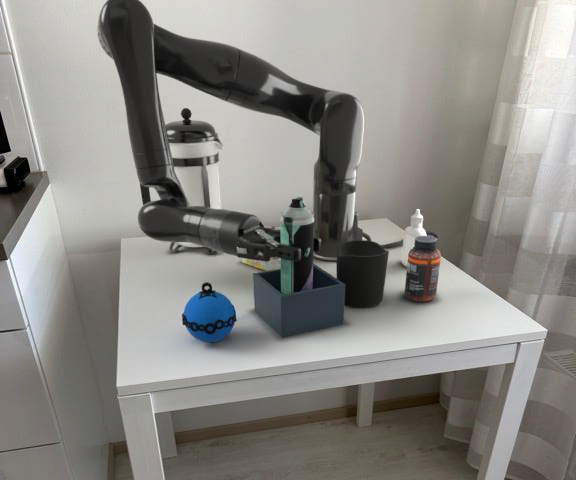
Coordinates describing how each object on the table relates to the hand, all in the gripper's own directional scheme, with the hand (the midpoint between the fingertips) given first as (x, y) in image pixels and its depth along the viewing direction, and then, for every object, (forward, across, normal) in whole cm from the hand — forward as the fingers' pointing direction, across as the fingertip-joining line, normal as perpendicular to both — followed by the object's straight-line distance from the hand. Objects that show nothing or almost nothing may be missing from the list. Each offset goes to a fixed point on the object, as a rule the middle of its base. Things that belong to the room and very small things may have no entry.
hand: (309, 250), depth 92 cm
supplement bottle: (+12, +21, +13) cm, 27 cm away
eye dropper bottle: (+3, +36, +13) cm, 38 cm away
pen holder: (+3, +13, +13) cm, 19 cm away
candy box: (-21, +16, +13) cm, 29 cm away
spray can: (-3, 0, +12) cm, 12 cm away
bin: (-2, 0, +13) cm, 13 cm away
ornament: (-9, -15, +13) cm, 22 cm away
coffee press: (-46, +19, +13) cm, 51 cm away
